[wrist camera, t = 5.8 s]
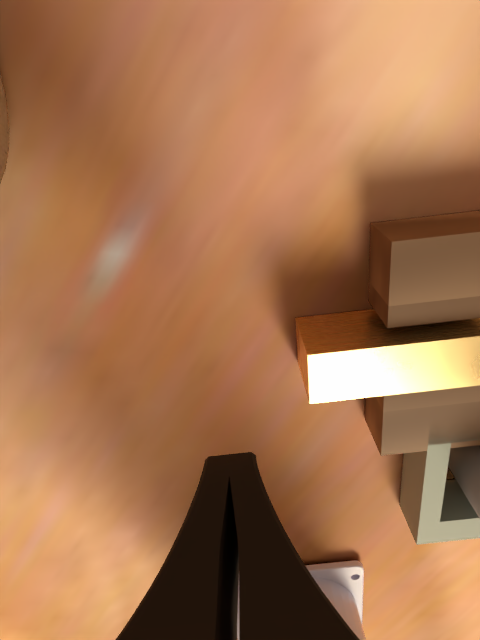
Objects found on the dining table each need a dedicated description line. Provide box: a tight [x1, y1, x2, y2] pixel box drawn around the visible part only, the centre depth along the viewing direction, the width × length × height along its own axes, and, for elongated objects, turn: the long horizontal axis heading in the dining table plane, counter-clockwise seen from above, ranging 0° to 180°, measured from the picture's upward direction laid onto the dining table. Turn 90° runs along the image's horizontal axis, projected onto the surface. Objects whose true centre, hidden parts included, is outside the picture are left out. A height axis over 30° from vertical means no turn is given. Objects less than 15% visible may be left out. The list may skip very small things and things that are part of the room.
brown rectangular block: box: [295, 309, 480, 404], centre depth 18 cm, size 2×7×3 cm, turn 96°
